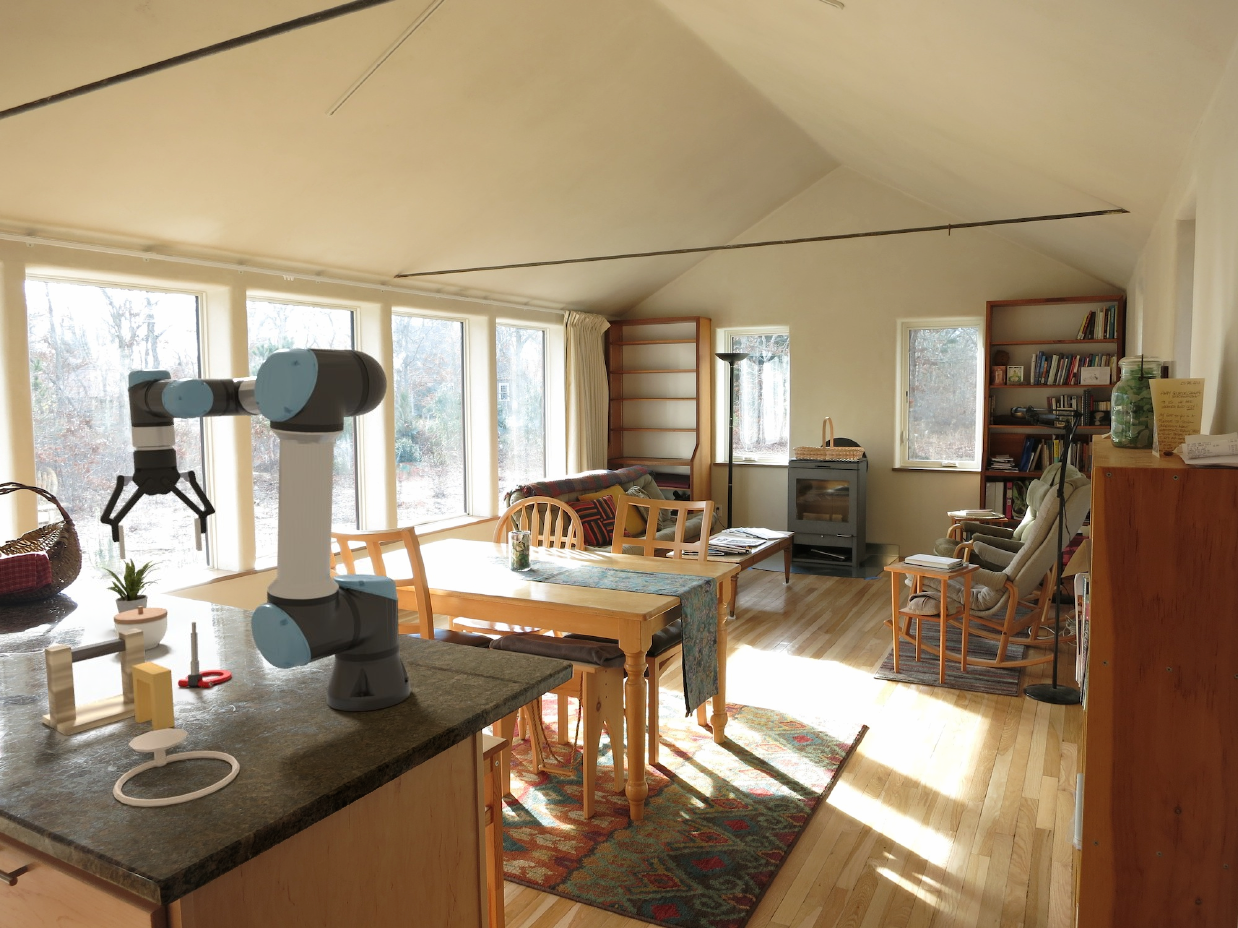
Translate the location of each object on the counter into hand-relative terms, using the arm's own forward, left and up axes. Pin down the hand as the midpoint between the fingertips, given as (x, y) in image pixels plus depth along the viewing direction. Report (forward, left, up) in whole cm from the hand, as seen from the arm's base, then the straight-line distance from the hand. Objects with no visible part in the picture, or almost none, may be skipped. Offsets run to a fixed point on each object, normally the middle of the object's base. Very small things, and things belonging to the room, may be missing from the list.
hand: (161, 554), depth 175 cm
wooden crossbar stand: (-11, +17, -25) cm, 33 cm away
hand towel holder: (-47, +21, -26) cm, 58 cm away
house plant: (+50, -16, -26) cm, 58 cm away
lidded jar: (+27, -7, -26) cm, 38 cm away
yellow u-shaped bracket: (-23, +13, -25) cm, 37 cm away
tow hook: (-8, -4, -26) cm, 27 cm away
